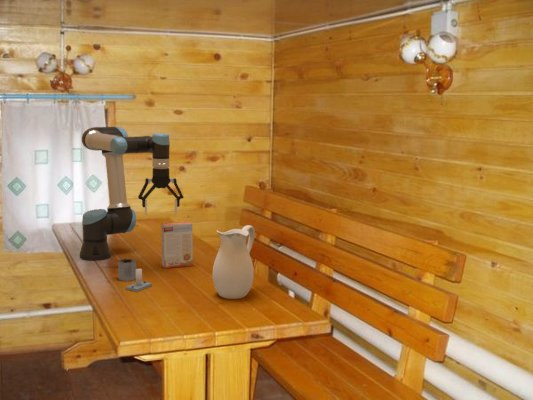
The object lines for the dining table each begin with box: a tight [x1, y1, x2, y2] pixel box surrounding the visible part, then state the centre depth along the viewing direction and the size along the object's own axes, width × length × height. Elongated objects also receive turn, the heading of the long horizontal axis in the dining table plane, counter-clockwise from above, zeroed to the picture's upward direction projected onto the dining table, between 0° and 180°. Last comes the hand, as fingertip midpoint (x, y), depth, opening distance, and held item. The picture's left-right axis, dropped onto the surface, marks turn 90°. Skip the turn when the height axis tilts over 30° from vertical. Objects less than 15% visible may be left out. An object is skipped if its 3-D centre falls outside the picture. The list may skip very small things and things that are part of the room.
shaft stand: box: [125, 268, 153, 293], centre depth 269 cm, size 6×10×8 cm, turn 152°
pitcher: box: [212, 224, 256, 300], centre depth 264 cm, size 24×17×28 cm
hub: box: [117, 258, 137, 282], centre depth 282 cm, size 7×7×8 cm
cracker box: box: [160, 221, 194, 269], centre depth 304 cm, size 14×6×21 cm, turn 113°
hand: (160, 214), depth 291 cm, fingers open, 13 cm apart
